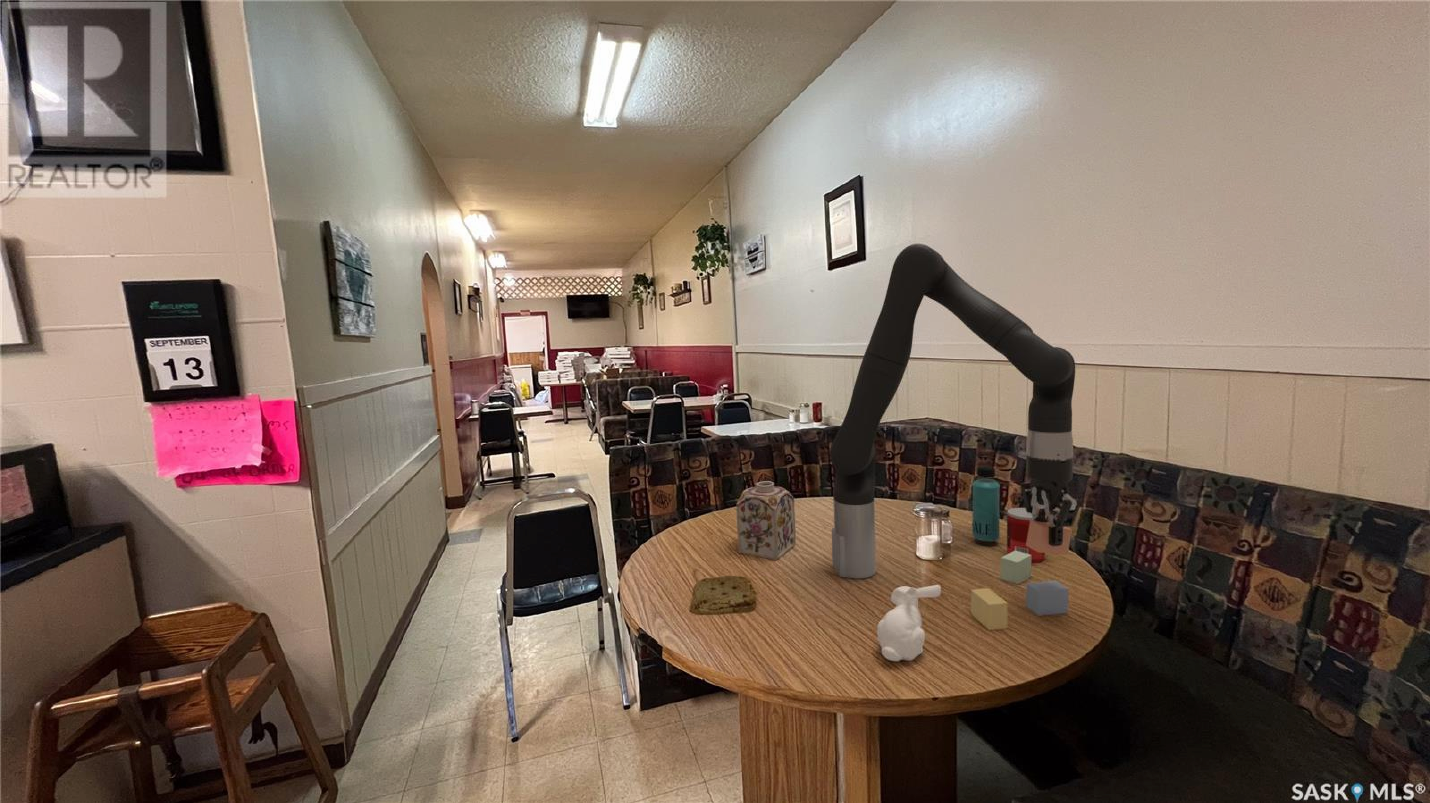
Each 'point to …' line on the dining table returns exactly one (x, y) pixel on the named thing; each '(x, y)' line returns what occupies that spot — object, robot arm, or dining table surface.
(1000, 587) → the dining table surface
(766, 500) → the decorative jar
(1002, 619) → the ochre brick
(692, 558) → the dining table surface
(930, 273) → the robot arm
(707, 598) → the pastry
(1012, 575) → the sage brick
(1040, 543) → the terracotta brick
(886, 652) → the rabbit
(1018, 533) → the canned food
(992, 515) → the beverage bottle
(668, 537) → the dining table surface
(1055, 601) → the slate brick
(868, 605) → the dining table surface
